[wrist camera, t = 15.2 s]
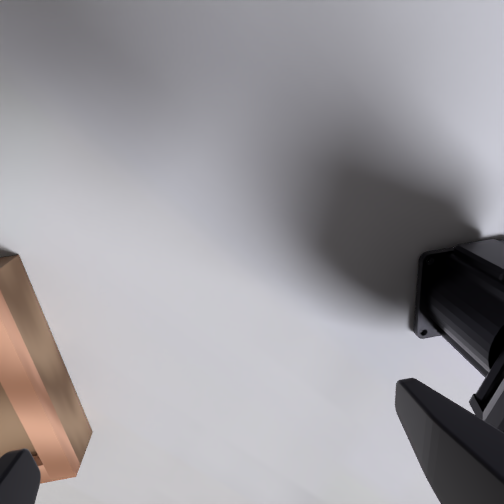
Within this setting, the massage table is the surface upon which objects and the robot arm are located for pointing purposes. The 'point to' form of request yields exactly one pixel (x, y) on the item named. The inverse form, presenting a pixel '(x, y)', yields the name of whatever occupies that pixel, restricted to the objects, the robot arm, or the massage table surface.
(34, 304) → the square wooden tray
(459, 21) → the massage table surface
